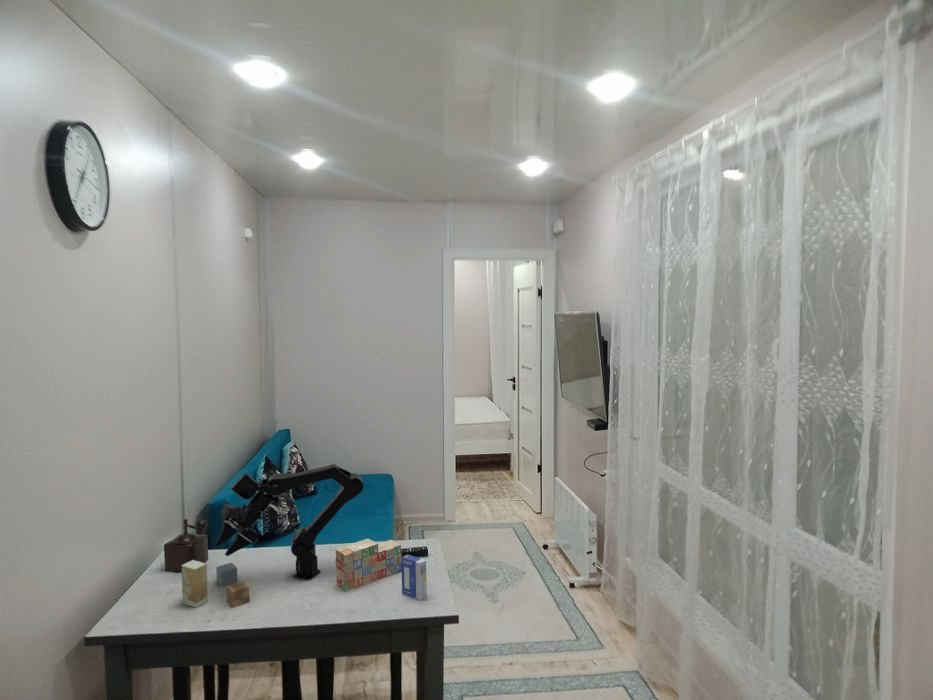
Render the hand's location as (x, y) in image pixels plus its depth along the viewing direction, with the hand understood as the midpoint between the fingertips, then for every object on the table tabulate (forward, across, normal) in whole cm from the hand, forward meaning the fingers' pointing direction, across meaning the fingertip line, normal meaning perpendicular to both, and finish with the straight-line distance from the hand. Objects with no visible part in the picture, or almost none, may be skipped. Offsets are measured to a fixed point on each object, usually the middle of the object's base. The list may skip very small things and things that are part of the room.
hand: (221, 550), depth 178 cm
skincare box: (+16, 0, +4) cm, 16 cm away
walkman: (-22, +41, +41) cm, 62 cm away
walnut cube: (+8, +8, +11) cm, 16 cm away
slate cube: (+7, -7, +13) cm, 16 cm away
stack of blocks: (-19, +22, +38) cm, 48 cm away
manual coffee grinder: (+11, -27, +9) cm, 31 cm away
